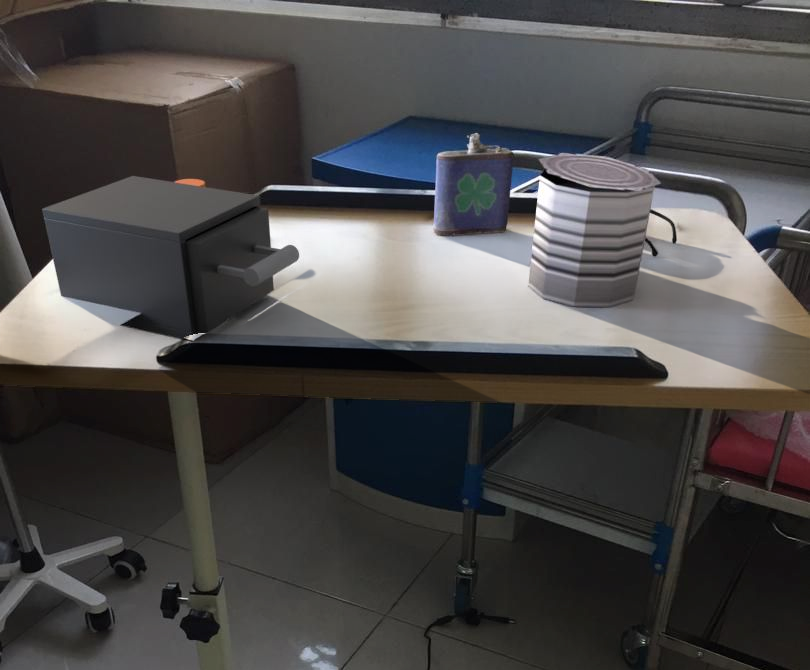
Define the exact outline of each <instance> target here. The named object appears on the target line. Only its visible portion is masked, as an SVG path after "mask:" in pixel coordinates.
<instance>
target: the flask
mask: <svg viewBox="0 0 810 670" xmlns="http://www.w3.org/2000/svg"><path fill="white" fill-rule="evenodd" d="M466 137H467V138H468V139H469V143H467V144H466V146H467V149H466V150H452V151H449V150H448V151H441V152H438V153H437V154H436V160H435V161H436V164H435V165H436V167H435V186H434V187H435V189H434V209H433V210H434V211H433V212H434V213H433V226H432V229H433V233H434V234H436V236H441V235H443V236H446V237H447V236H449V237H450V236H455V235H457V236H460V235H461V236H462V235H465V236H466V235H468V236H470V235H475V234H477V233H478V234H479V233H480V234H485V233H491V234H492V233H504V232H506V231H507V227H508V222H509V221H508V220H509V210H510V201H511V187H512V179H513V178H512V177H513V170H514V169H513V168H514V160H515V159H514V158H515V154H514V152H513V151H512V150H510V149H509V148H507V147H501V146H499V145H485V144H483V143H482V142H481V140H480V137H481V134H479V133H478V132H475V133H472V134H470V135H469V134H468V135H467V136H466Z"/></svg>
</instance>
